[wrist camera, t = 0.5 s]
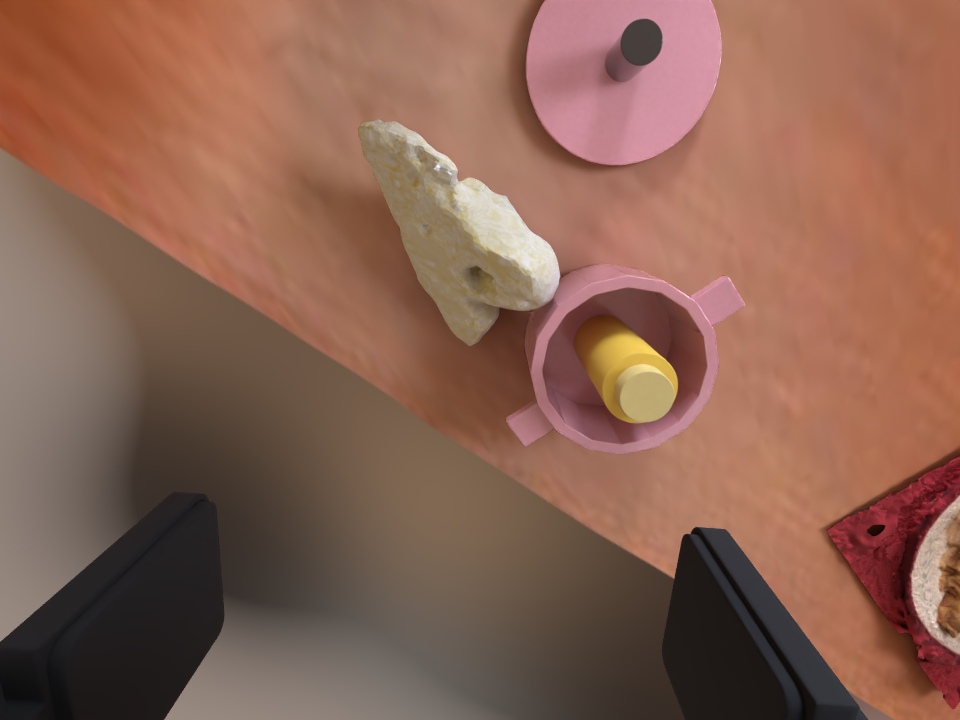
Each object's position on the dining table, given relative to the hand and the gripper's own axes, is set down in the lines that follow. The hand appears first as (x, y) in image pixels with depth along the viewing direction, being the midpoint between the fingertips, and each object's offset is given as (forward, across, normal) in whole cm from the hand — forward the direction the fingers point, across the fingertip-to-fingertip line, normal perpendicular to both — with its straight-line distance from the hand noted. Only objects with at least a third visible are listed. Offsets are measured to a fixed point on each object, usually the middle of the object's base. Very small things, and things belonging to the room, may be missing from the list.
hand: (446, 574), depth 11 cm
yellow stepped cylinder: (+34, -10, +2) cm, 35 cm away
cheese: (+34, +3, -5) cm, 35 cm away
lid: (+33, -9, -18) cm, 39 cm away
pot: (+34, -10, +2) cm, 36 cm away
